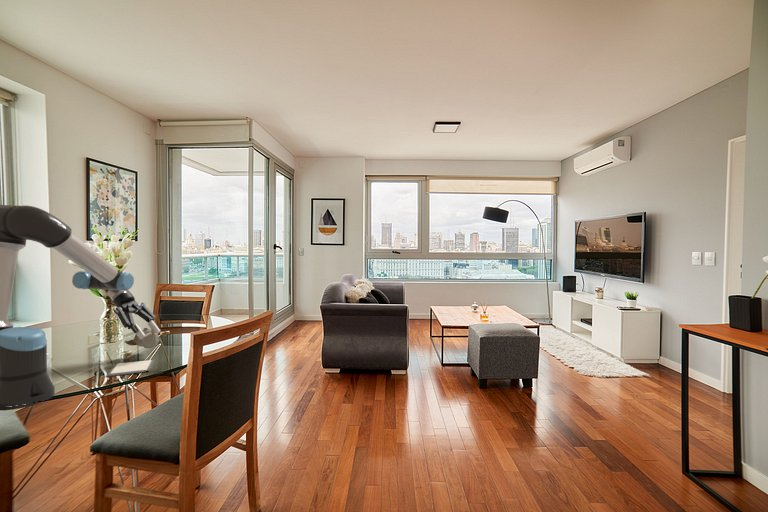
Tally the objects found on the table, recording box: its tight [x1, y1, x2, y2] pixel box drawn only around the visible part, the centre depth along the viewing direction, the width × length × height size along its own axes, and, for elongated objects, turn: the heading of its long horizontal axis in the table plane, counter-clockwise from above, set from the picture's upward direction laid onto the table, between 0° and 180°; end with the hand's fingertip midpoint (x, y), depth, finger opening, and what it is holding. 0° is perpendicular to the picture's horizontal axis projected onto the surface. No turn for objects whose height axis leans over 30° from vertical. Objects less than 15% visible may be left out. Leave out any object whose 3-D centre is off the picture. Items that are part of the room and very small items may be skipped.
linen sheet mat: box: [105, 359, 155, 378], centre depth 151 cm, size 14×14×1 cm
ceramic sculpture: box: [124, 327, 160, 349], centre depth 166 cm, size 11×9×15 cm
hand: (150, 335), depth 164 cm, fingers closed on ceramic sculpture, 7 cm apart
